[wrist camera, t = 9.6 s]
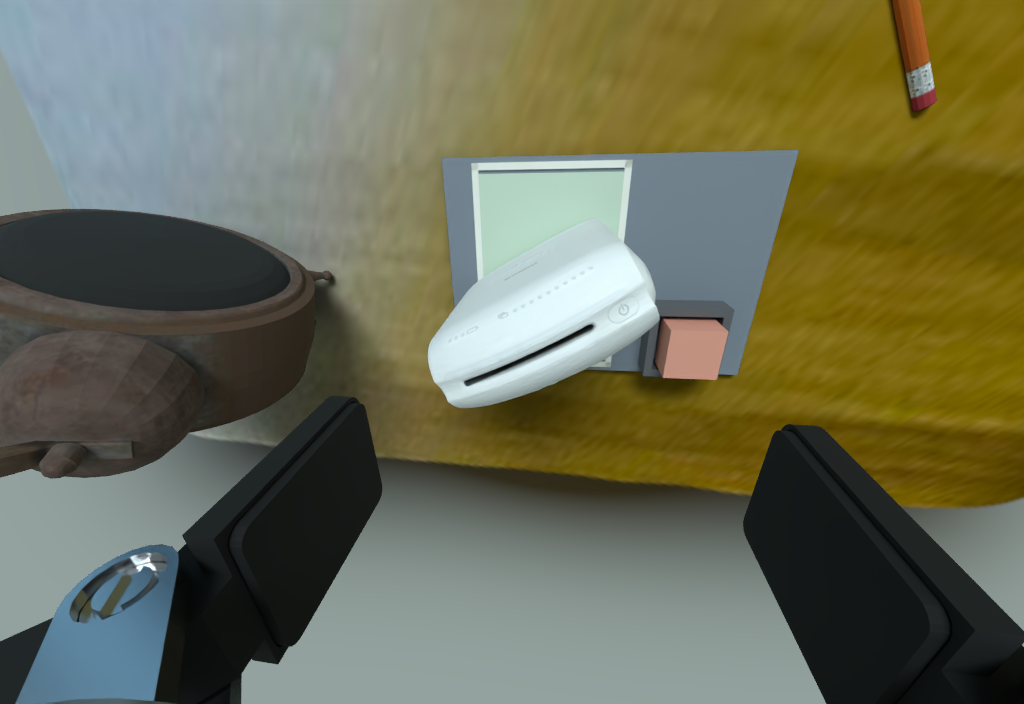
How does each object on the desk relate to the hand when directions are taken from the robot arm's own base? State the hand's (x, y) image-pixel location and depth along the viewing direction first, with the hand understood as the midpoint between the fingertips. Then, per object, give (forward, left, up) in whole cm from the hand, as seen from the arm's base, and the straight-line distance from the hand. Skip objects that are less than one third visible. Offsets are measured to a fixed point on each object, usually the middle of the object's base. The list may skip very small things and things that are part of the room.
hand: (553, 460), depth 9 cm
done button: (-8, +4, -17) cm, 19 cm away
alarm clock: (+21, 0, -19) cm, 28 cm away
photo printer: (+1, 0, -18) cm, 18 cm away
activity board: (-3, 0, -19) cm, 19 cm away
